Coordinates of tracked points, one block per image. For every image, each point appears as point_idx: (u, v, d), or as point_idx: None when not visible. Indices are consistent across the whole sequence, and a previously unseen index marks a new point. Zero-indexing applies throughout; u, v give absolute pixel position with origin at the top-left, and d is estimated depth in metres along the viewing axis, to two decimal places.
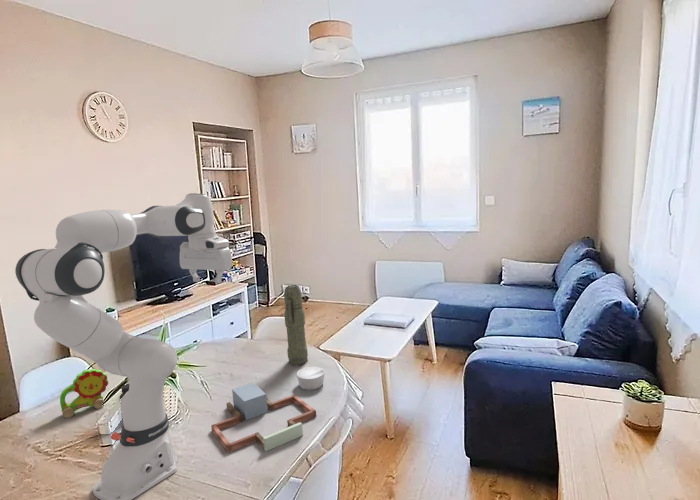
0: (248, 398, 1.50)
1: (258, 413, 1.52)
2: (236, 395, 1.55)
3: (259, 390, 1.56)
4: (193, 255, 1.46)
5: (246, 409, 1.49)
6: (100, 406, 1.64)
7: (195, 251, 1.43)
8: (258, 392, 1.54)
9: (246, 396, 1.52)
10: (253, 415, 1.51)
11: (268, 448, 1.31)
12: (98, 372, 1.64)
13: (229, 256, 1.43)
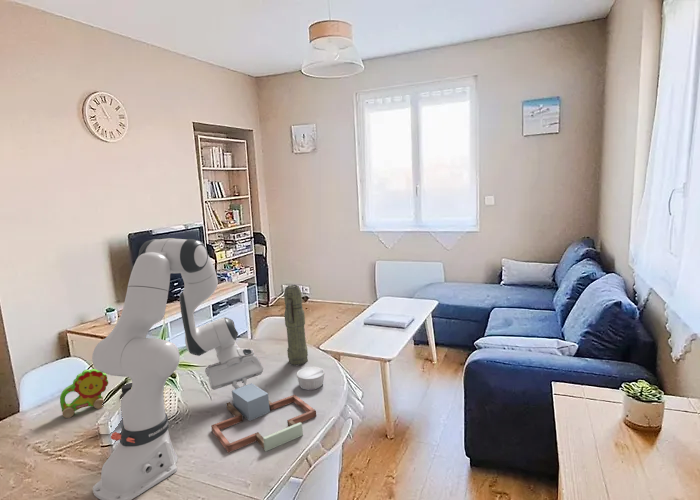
0: (251, 399, 1.49)
1: (260, 413, 1.51)
2: (237, 396, 1.53)
3: (260, 390, 1.55)
4: (227, 370, 1.62)
5: (249, 409, 1.48)
6: (100, 406, 1.64)
7: (232, 362, 1.63)
8: (260, 392, 1.53)
9: (248, 397, 1.51)
10: (256, 415, 1.50)
11: (268, 448, 1.31)
12: (98, 372, 1.64)
13: None
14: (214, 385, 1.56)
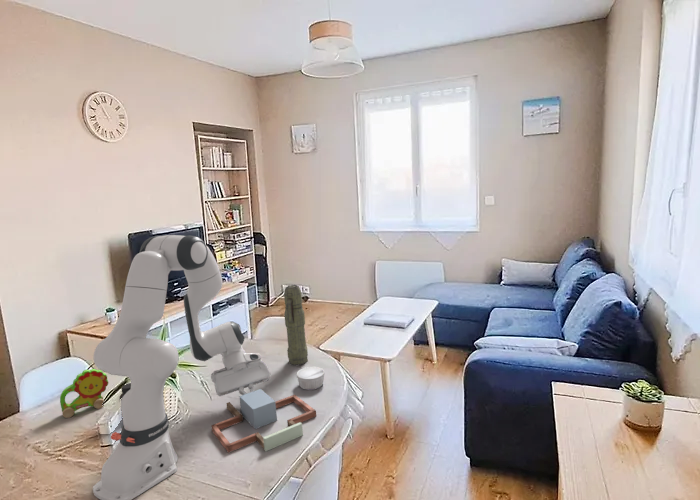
0: (257, 406, 1.44)
1: (267, 421, 1.46)
2: (244, 403, 1.49)
3: (268, 397, 1.50)
4: (233, 375, 1.56)
5: (254, 417, 1.43)
6: (100, 406, 1.64)
7: (239, 367, 1.58)
8: (267, 400, 1.48)
9: (254, 404, 1.46)
10: (262, 423, 1.45)
11: (268, 448, 1.31)
12: (98, 372, 1.64)
13: None
14: (220, 391, 1.51)
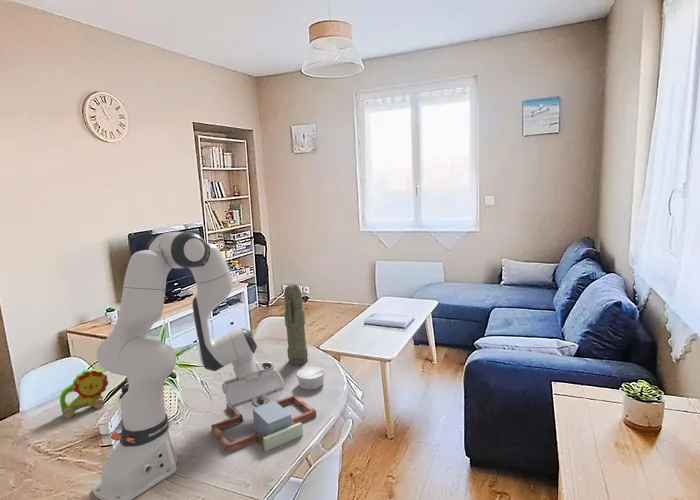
0: (272, 420, 1.35)
1: None
2: (258, 416, 1.40)
3: (283, 410, 1.41)
4: (245, 386, 1.47)
5: (269, 432, 1.34)
6: (100, 406, 1.64)
7: (251, 377, 1.49)
8: (282, 413, 1.39)
9: (269, 417, 1.37)
10: None
11: (268, 448, 1.31)
12: (98, 372, 1.64)
13: None
14: (232, 403, 1.42)
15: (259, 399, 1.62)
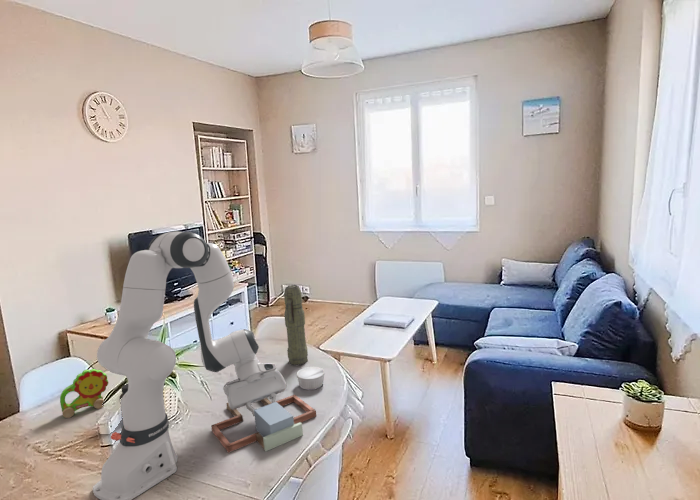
0: (274, 421, 1.34)
1: None
2: (259, 417, 1.38)
3: (285, 411, 1.40)
4: (247, 387, 1.46)
5: None
6: (100, 406, 1.64)
7: (253, 378, 1.48)
8: (284, 414, 1.38)
9: (271, 419, 1.36)
10: None
11: (268, 448, 1.31)
12: (98, 372, 1.64)
13: None
14: (234, 405, 1.41)
15: None
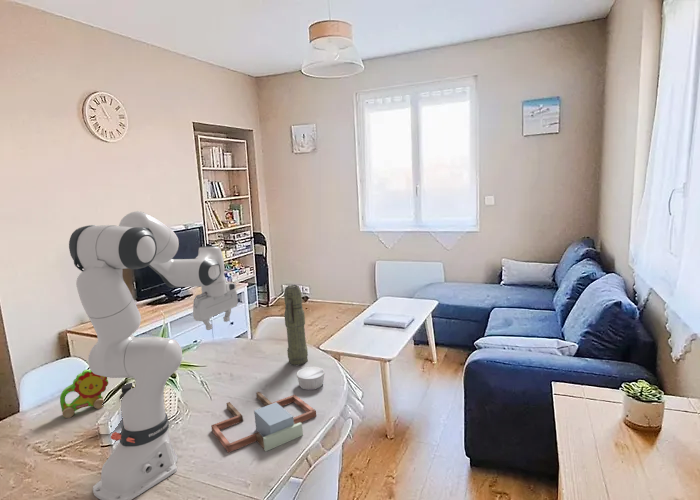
0: (274, 422, 1.34)
1: None
2: (259, 418, 1.39)
3: (285, 412, 1.40)
4: (212, 303, 1.56)
5: None
6: (100, 406, 1.64)
7: (220, 297, 1.58)
8: (284, 415, 1.38)
9: (271, 419, 1.36)
10: None
11: (268, 448, 1.31)
12: None
13: None
14: (202, 320, 1.51)
15: (259, 399, 1.62)
